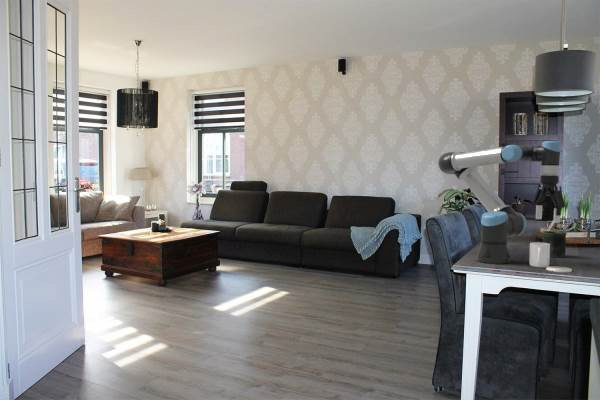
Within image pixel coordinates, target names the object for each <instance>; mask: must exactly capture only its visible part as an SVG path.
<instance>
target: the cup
mask: <svg viewBox="0 0 600 400" xmlns="http://www.w3.org/2000/svg"><path fill="white" fill-rule="evenodd" d="M550 258H551V257H550V244H548V243H543V242H539V241H537V242H535V241H534V242H530V243H529V258H528V259H529V260H528V261H529V266H530V267H534V268H535V267H536V268H546V267H549V266H550V260H551V259H550Z"/></svg>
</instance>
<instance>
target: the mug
mask: <svg viewBox="0 0 600 400" xmlns="http://www.w3.org/2000/svg"><path fill="white" fill-rule="evenodd" d="M567 234H568V233H567V232H565V231H559V230H558V231H556V230H555V231H554V230H543V231H541V235H536V236H535V238H534V242H538V238H542V243H548V244H550V258H565V256H566V248H567V247H566V244H567V243H566V242H567V241H566V239H567Z"/></svg>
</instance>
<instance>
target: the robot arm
mask: <svg viewBox="0 0 600 400" xmlns="http://www.w3.org/2000/svg"><path fill="white" fill-rule="evenodd" d="M560 159H561V142H560V141H558V140H545V141H543V142H541V145H520V144H509V145H506V146H501V147H500V146H499V147H495V148H487V149H481V150H480V149H479V150H476V151H475V150H474V151H467V152H465V151H461V152H459V151H449V152H444V153H443V154H442V155H441V156H440V157H439V159H438V162H437V163H438V167H439V170H440V171H441V172H442V173H444V174H445V175H454V176H455V177H456V178H457V179H458V181H460V182H464V183H465V184H466V186H467V187H468V189H469V190H470V191H471V192H472V193H473V194H474V196H475V197H476V199H478V201H479V202H480V204H481V205H482V206H483V207H484V208H485V210H486V211H487V212H484V213H483V214H482V215H481V220H480V223H481V224H480V245H479V246H480V247H479V249H478V252H477V253H476V261H477V260H478V261H477V262H480V261H481V262H480V263H484V262H487V263H486V264H499V265H500V264H509V263H511V260H512V259H511V255H510V251H509V248H508V238H515V237H518V236H521V235H522V234H524V232H525V230H526V229H527V218H526V217H525V216H524V215H523V214H522V213H520V212H518V211H517V212H516V211H515V209H513V207H512V206H511V205H508V204H507V205H506V204H505V203H504V201H503V200H502V199H501V198H500V197H499V195H498V194H497V193H496V191H494V189H493V188H492V187H491V186H490V184H489V183H488V182H487V181H486V180H485V179H484V177H483V176H482V175H481V174H480V173H479V171H478V170H479V167H483V166H491V165H499V164H509V163H514V162H515V163H516V162H518V163H519V162H522V163H532V162H534V163H537V162H538V163H540V164H541V165H540V174H541V175H540V184H537V189H536V192H535V195H534V198H533V201H532V204H534V205H535V220H542V218H543V202H544V200H545V199H546V197H547V196H549V197H550V198H551V200H552V203H553V205H554V208H553V223H554V224H556V223H557V224H560V223H561V215H562V209H563V208H565V206H566V204H565V201H564V197H563V193H562V186H561V185H557V184H560V183H559V182H560V179H559V178H560V176H559V175H560V162H561V160H560Z"/></svg>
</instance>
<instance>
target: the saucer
mask: <svg viewBox="0 0 600 400" xmlns="http://www.w3.org/2000/svg"><path fill="white" fill-rule="evenodd" d="M545 270H546V271H548V272H552V271H553V273H568V274H569V273H572V272H573V269H572V268H570V267H566V266H557V265H551V266H550V265H549V266H548V267H545Z"/></svg>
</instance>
